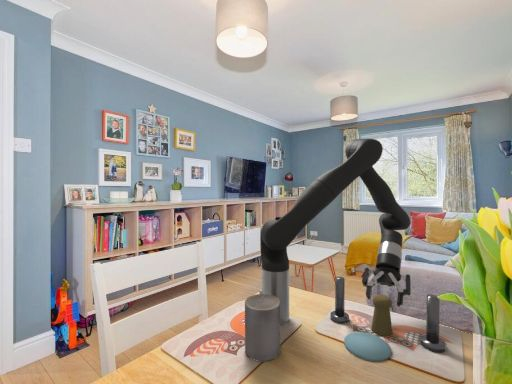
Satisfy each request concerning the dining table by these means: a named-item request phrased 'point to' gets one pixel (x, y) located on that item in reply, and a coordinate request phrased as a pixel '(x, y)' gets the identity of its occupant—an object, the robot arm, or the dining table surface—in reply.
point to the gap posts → (432, 319)
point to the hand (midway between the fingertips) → (383, 301)
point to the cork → (382, 316)
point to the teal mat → (367, 346)
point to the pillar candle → (262, 327)
